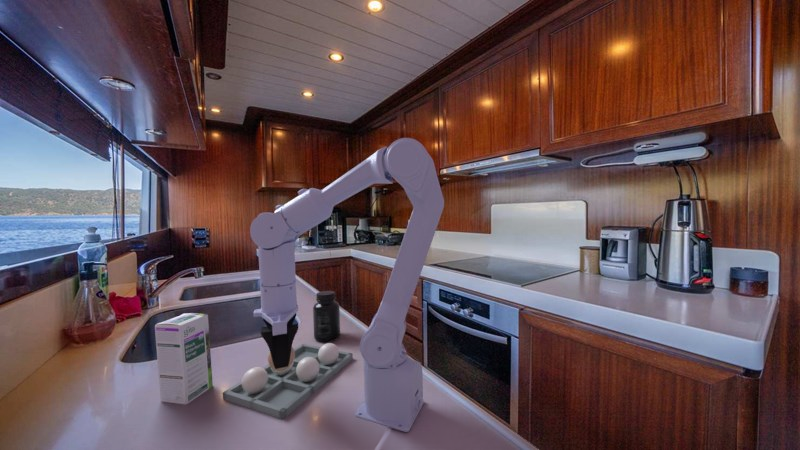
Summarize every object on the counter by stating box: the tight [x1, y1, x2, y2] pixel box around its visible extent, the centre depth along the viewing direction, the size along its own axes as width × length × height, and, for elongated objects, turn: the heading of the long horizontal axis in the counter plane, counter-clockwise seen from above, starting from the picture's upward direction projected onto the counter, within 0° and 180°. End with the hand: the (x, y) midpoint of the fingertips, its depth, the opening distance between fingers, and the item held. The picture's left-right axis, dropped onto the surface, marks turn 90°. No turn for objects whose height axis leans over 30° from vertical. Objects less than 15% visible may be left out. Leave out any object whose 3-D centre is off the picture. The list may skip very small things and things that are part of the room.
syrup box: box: [154, 312, 214, 405], centre depth 54 cm, size 6×6×14 cm
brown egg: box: [267, 347, 295, 371], centre depth 52 cm, size 4×4×4 cm
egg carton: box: [222, 342, 354, 420], centre depth 59 cm, size 14×21×5 cm
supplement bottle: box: [312, 290, 341, 343], centre depth 78 cm, size 7×7×12 cm
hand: (281, 359), depth 52 cm, fingers closed on brown egg, 4 cm apart
